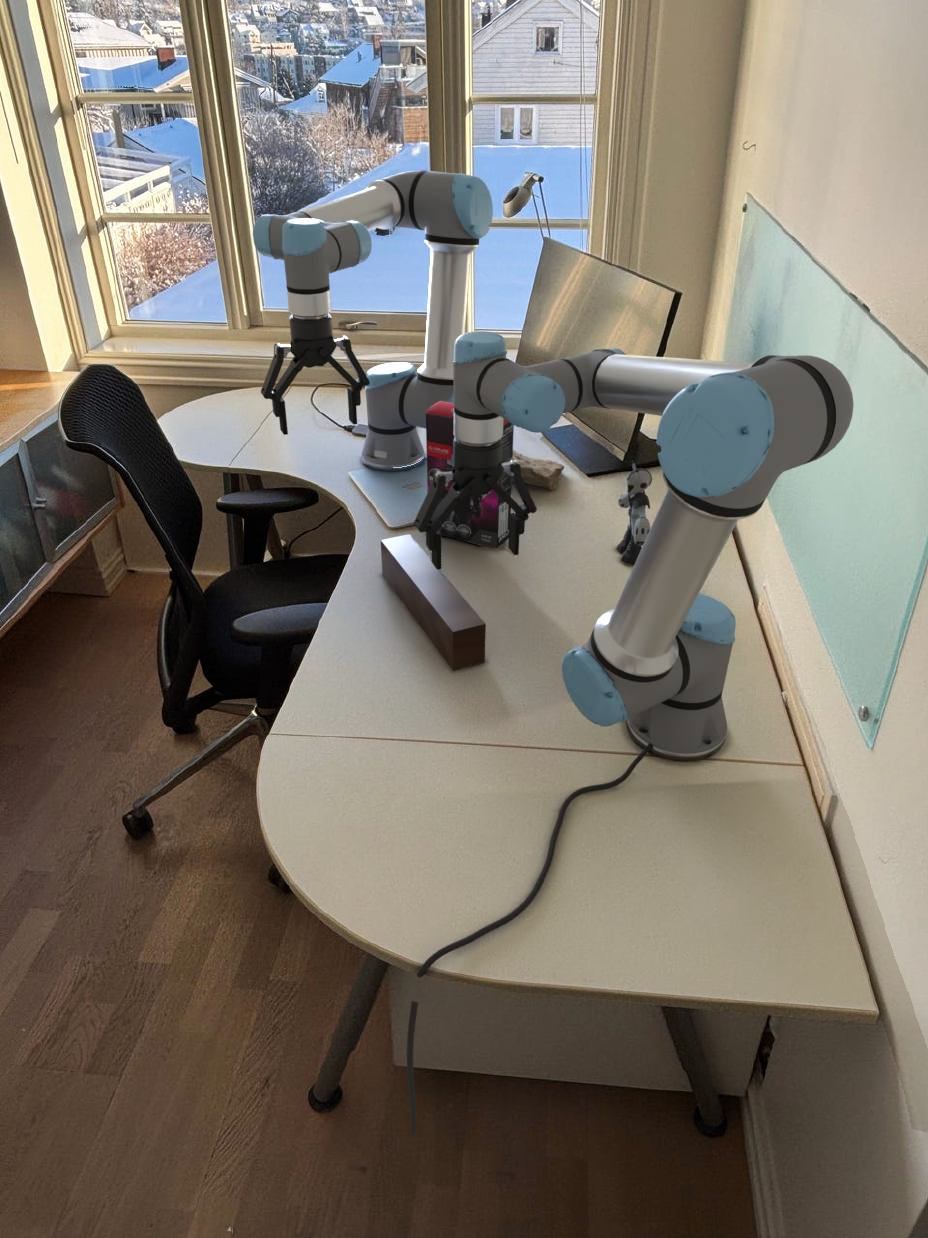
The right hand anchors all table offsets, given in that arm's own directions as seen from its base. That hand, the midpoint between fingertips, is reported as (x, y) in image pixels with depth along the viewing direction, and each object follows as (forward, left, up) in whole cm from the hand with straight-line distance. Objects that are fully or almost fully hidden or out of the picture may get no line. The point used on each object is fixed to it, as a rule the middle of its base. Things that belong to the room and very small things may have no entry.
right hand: (475, 558), depth 152 cm
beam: (+7, +10, -18) cm, 21 cm away
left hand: (+26, +38, +8) cm, 47 cm away
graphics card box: (+38, +11, -18) cm, 43 cm away
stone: (+69, +8, -18) cm, 72 cm away
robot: (+39, -23, -18) cm, 49 cm away
